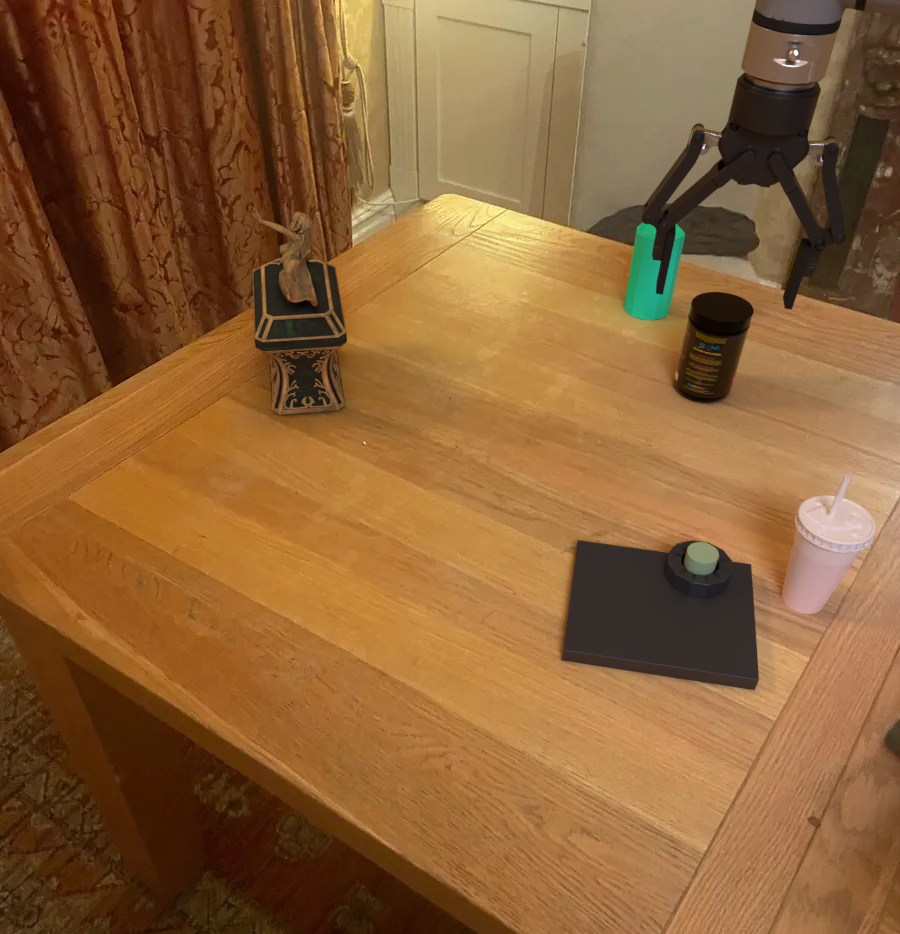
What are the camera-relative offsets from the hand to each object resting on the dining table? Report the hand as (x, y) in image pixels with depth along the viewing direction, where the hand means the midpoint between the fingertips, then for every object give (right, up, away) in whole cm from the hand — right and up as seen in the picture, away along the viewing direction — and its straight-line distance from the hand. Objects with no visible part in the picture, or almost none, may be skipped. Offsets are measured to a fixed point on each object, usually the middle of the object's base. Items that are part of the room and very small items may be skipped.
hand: (722, 296), depth 98 cm
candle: (-4, +5, +22) cm, 23 cm away
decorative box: (-46, -9, +7) cm, 47 cm away
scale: (-11, -34, -17) cm, 40 cm away
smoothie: (+3, -33, -15) cm, 37 cm away
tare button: (-7, -30, -17) cm, 35 cm away
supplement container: (0, -8, +8) cm, 12 cm away
